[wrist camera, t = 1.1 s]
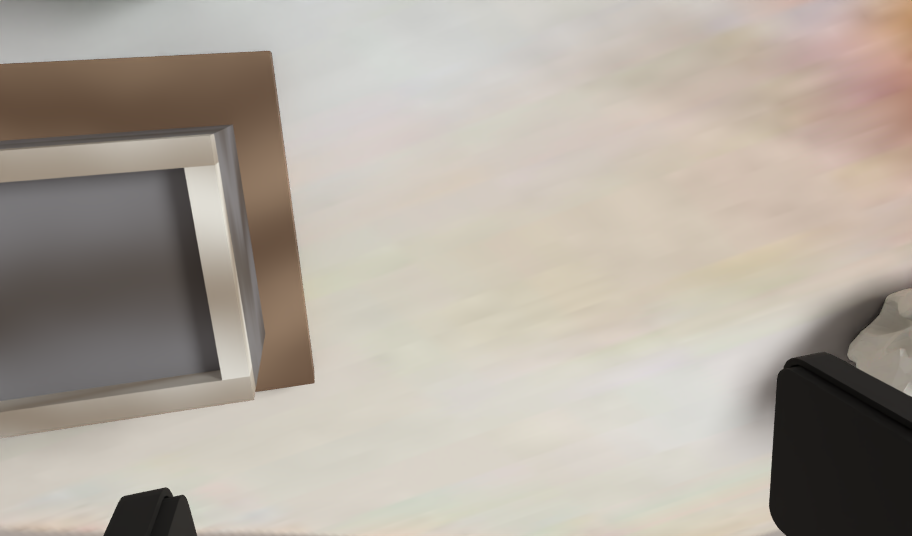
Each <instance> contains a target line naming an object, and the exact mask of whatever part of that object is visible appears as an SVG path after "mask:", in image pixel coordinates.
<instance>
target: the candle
mask: <svg viewBox="0 0 912 536" xmlns="http://www.w3.org/2000/svg"><path fill="white" fill-rule="evenodd" d="M847 356H848V358H849V360H851V361H853V362H855V363H856V368H858V369H860V370H862V371H864V372H866V373H867V374H869V375H871V376H873V377H875V378H877V379H879V380H881V381H883V382H885V383H886V384H888V385H890V386H892V387H894V388H896V389H898V390H900V391H902V392H904V393H905V394H907V395H909V396H911V397H912V288H909V289H904V290H901V291H898V292H895V293H893V294H890V295H888V297H887V298H886V299H885V302H884V305H883V308H882V310H881V312H880V314H879V316H878V317H877V318H876V319H875V320H874V321H873V322H872V323H871V324H870V325H868V326H867V327H866V328H865V329H864V330H862V331H861V332H860V334H859V335H858V336H857V337H856V338H855V339H854V340H853V342H852V343H851V344H850V346H849V350H848V354H847Z"/></svg>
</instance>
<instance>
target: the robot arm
mask: <svg viewBox="0 0 912 536" xmlns="http://www.w3.org/2000/svg"><path fill="white" fill-rule="evenodd" d="M769 509H770V513H771V516H772V518H773V521H774V522H775V524H776V525H777V527H778V528H779V529H780V530H781V531H782V532H783V533H784V534H785V535H786V536H912V397H911V396H909V395H907V394H905V393H904V392H902V391H900V390H898V389H896V388H894V387H892V386H890V385H888V384H886V383H885V382H883V381H881V380H879V379H877V378H875V377H873V376H871V375H869V374H867V373H866V372H864V371H862V370H860V369H858V368H856V367H854V366H852V365H850V364H848V363H847V362H845V361H843V360H841V359H839V358H837V357H835V356H833V355H831V354H829V353H826V352H822V353H815V354H810V355H806V356H801V357H796V358H791V359H790V360H788V361H787V362H786V364H785V365H784V369H783V370H781V371H780V372H779V374H778V377H777V389H776V404H775V420H774V436H773V452H772V468H771V483H770V499H769ZM104 536H197V534H196V530H195V526H194V522H193V519H192V515H191V511H190V508H189V504H188V501H187V499H186V497H185V496H184V495H179V496H175V497H173V495H172V493H171V491H170V490H169V489H168V488H161V489H156V490H151V491H146V492H141V493H137V494H132V495H127V496H124V497H122V498H121V499H120V501H119V502H118V505H117V507H116V509H115V511H114V513H113V516H112V518H111V520H110V522H109V524H108V527H107V529H106V531H105V533H104Z"/></svg>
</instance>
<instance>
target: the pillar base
mask: <svg viewBox="0 0 912 536" xmlns="http://www.w3.org/2000/svg"><path fill="white" fill-rule="evenodd" d="M312 383H314V366H313V358H312V351H311V343H310V336H309V328H308V321H307V313H306V306H305V298H304V291H303V283H302V276H301V269H300V261H299V254H298V246H297V239H296V231H295V224H294V216H293V209H292V201H291V194H290V186H289V179H288V171H287V164H286V156H285V149H284V141H283V134H282V126H281V119H280V111H279V104H278V97H277V89H276V82H275V74H274V67H273V59H272V53H271V52H270V51H257V52H237V53H216V54H196V55H175V56H155V57H134V58H114V59H94V60H73V61H53V62H32V63H12V64H0V438H6V437H13V436H19V435H26V434H32V433H39V432H46V431H52V430H59V429H65V428H72V427H79V426H85V425H92V424H98V423H105V422H112V421H118V420H125V419H131V418H138V417H145V416H151V415H158V414H164V413H171V412H177V411H184V410H191V409H197V408H204V407H210V406H217V405H224V404H230V403H237V402H243V401H250V400H254V395H255V392H258V391H265V390H272V389H279V388H285V387H292V386H299V385H305V384H312Z"/></svg>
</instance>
